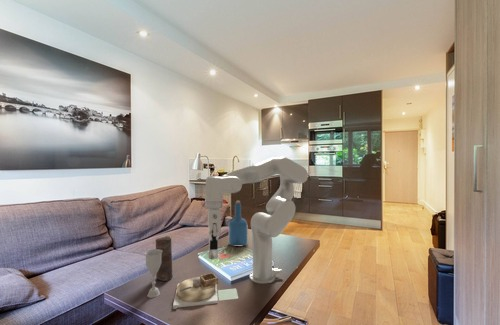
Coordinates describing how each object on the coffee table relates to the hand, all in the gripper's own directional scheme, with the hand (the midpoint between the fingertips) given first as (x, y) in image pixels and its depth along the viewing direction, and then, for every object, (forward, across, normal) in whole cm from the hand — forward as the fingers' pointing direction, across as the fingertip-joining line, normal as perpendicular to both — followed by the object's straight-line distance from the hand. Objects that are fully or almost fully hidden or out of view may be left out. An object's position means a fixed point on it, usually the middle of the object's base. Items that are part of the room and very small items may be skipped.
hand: (213, 247), depth 102 cm
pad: (+20, -3, -6) cm, 21 cm away
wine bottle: (+19, +59, -22) cm, 66 cm away
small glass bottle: (+4, 0, 0) cm, 4 cm away
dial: (+18, 0, +6) cm, 19 cm away
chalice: (+20, +5, +24) cm, 32 cm away
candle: (+20, +19, +22) cm, 35 cm away
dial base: (+20, 0, +7) cm, 21 cm away
